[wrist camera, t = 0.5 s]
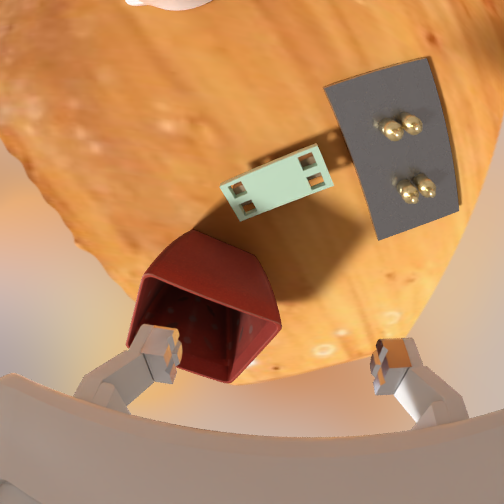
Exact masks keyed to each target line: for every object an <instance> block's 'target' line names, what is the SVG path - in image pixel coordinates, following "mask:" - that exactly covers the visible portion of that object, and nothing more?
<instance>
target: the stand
mask: <svg viewBox="0 0 504 504" xmlns="http://www.w3.org/2000/svg"><path fill="white" fill-rule="evenodd" d="M298 159H299V161H300V163H301V165H302V167H306V166H308V165H311V164H314V163H316V161H315V158H314V156H313V154H312V152H310V153H308V154H305V155H303V156H300V157H298ZM319 176H321V172H319V173H317V174H314V175H311V176H309V177H307V179H308V180H311V179H313V178H316V177H319ZM233 191H234V193H235V195H237V194H240V193H242V192H244V191H246V189H245V187H244V186H243V184H242V182H241V181H240V182H238V183H235V184H234V186H233ZM250 203H252V200H249V201H246V202H244V203H241V205H242V207H243V206H245V205H247V204H250Z"/></svg>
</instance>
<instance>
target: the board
mask: <svg viewBox="0 0 504 504" xmlns="http://www.w3.org/2000/svg"><path fill="white" fill-rule="evenodd" d="M310 152H312V154H313V156H314V158H315V161H316V163H314V164H311V165H308V166H306V167H302V165H301V163H300V161H299V159H298V157H300V156H303V155H305V154H308V153H310ZM319 172H321V175H322V177H323V180H324V182H322V183H319V184H317V185H314V186H310V183H309V181H308V179H307V177H309V176H311V175H314V174H317V173H319ZM240 181H241V182H242V184H243V186H244V187H245V189H246V191H244V192H242V193H240V194H237V195H235V193H234V191H233V189H232V188H231V185H233V184H235V183H238V182H240ZM332 186H334V185H333V182H332V180H331V177H330V174H329V172H328V169H327V167H326V165H325V162H324V160H323V157H322V155H321V152H320V150H319V148H318V145H317V143H315V144H313V145H310V146H308V147H305V148H302V149H300V150H297V151H295V152H292V153H290V154H287V155H285V156H283V157H280V158H278V159H275V160H273V161H270V162H268V163H266V164H263V165H261V166H259V167H256V168H254V169H252V170H249V171H247V172H245V173H242V174H240V175H238V176H236V177H233V178H231V179H229V180H227V181H225V182H222V183H221V184H220V189H221V190H222V192H223V194H224V195H225V197H226V199H227V200H228V202H229V204H230V205H231V207H232V209H233V210H234V212H235V214H236V216H237V217H238V219H239V221H240V222H241V221H243V220H246V219H248V218H251V217H253V216H256V215H258V214H261V213H263V212H266V211H268V210H271V209H274V208H276V207H279V206H281V205H284V204H287V203H289V202H292V201H294V200H297V199H300V198H302V197H305V196H308V195H310V194H313V193H316V192H318V191H321V190H324V189H326V188H329V187H332ZM249 200H252V202H253V204H254V206H255V207H256V208H255V209H252V210H250V211H247V212H245V210H244V209H243V207H242V205H241V203H244V202H246V201H249Z"/></svg>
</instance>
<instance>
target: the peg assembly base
mask: <svg viewBox="0 0 504 504" xmlns="http://www.w3.org/2000/svg"><path fill="white" fill-rule="evenodd" d="M323 89H324V92H325V94H326V96H327V98H328V101H329V103H330V105H331V108H332V110H333V112H334V115H335V117H336V120H337V122H338V124H339V127H340V129H341V132H342V135H343V137H344V140H345V142H346V145H347V148H348V150H349V153H350V156H351V158H352V161H353V164H354V167H355V170H356V173H357V176H358V178H359V181H360V184H361V187H362V191H363V194H364V197H365V200H366V203H367V206H368V210H369V213H370V216H371V220H372V223H373V227H374V230H375V234H376V237H377V239H378V241H379V240H382V239H385V238H387V237H390V236H393V235H396V234H398V233H401V232H404V231H407V230H409V229H412V228H415V227H418V226H420V225H423V224H426V223H428V222H431V221H434V220H437V219H439V218H442V217H444V216H447V215H450V214H452V213H455V212H458V211H459V205H458V195H457V186H456V179H455V171H454V165H453V159H452V153H451V148H450V142H449V137H448V133H447V128H446V123H445V119H444V115H443V111H442V107H441V103H440V99H439V96H438V92H437V89H436V85H435V82H434V79H433V76H432V73H431V69H430V66H429V64H428V61H427V58H418V59H414V60H410V61H406V62H402V63H398V64H395V65H391V66H387V67H384V68H380V69H377V70H373V71H370V72H367V73H364V74H360V75H357V76H354V77H351V78H348V79H345V80H342V81H339V82H336V83H333V84H330V85H328V86H325V87H323Z"/></svg>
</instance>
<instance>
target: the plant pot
mask: <svg viewBox="0 0 504 504" xmlns="http://www.w3.org/2000/svg"><path fill="white" fill-rule="evenodd" d="M143 324H148V325H156V326H162V327H168V328H175V329H178V332H179V338H178V340H179V341H180V342H181V344H182V358H181V361H180V364H179V365H177V366H176V367H177V368H180V369H183V370H186V371H188V372H191V373H194V374H198V375H200V376H203V377H207V378H210V379H213V380H216V381H219V382H223V383H232V382H233V381H234V380H235V379H236V378H237V377H238V376H239V375H240V374H241V373H242V372H243V371H244V370H245V369H246V367H247V366H248V365H249V364H250V363H251V362H252V361H253V360H254V359H255V358H256V357H257V356H258V354H259V353H260V352H261V351H262V350H263V349H264V348H265V347H266V346H267V345H268V344H269V342H270V341H271V340H272V339H273V338H274V337H275V336H276V335H277V334H278V333H279V331H280V330H281V328H282V325H281V319H280V314H279V310H278V306H277V303H276V299H275V296H274V293H273V290H272V288H271V285H270V283H269V280H268V278H267V276H266V274H265V272H264V270H263V268H262V266H261V264H260V262H259V261H258V259H257V258H256V256H255V255H253V254H251V253H248V252H246V251H243V250H241V249H239V248H236V247H234V246H232V245H229V244H227V243H224V242H222V241H220V240H217V239H215V238H213V237H210V236H208V235H205V234H203V233H201V232H198V231H196V230H191V231H189V232H187V233H185V234H183V235H182V236H180V237H179V238H177V239H176V240H175V241H173V242H172V243H171V244H170V245H169V246H167V247H166V248H165V249H164V250H163V251H162V252H161V254H160V255H159V256H158V257H157V258H156V259H155V260H154V262H153V263H152V264H151V265H150V267H149V268H148V269H147V270H146V272H145V273H144V275H143V276H142V279H141V283H140V287H139V291H138V295H137V300H136V304H135V308H134V312H133V316H132V321H131V324H130V329H129V333H128V337H127V341H126V346H127V347H128V348H130V346H131V344H132V342H133V340H134V338H135V336H136V335H137V333H138V331H139V329H140V327H141V326H142V325H143Z"/></svg>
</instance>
